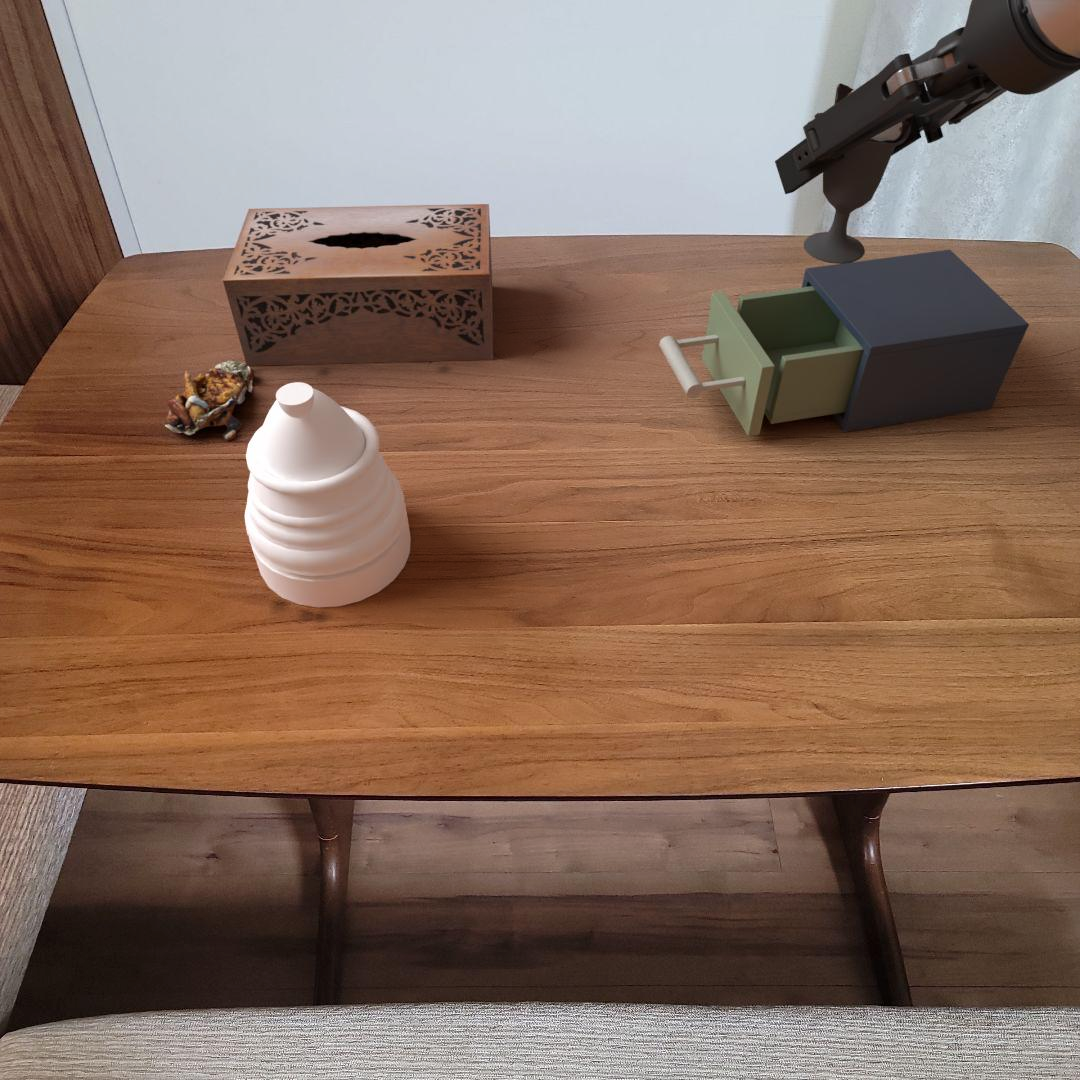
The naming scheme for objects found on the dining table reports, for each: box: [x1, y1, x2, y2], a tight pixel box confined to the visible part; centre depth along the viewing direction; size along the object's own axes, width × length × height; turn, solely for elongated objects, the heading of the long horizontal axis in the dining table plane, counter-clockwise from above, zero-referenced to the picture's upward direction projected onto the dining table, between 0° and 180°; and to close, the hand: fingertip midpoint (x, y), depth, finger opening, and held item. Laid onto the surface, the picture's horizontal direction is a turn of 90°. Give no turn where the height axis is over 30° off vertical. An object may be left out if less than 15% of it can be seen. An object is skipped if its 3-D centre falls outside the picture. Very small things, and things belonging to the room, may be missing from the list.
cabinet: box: [801, 249, 1030, 433], centre depth 92 cm, size 16×14×10 cm
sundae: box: [803, 82, 911, 265], centre depth 71 cm, size 7×7×15 cm
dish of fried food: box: [164, 360, 254, 441], centre depth 91 cm, size 7×12×4 cm, turn 0°
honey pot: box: [244, 381, 412, 608], centre depth 72 cm, size 13×13×18 cm
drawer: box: [659, 286, 864, 437], centre depth 89 cm, size 20×13×8 cm, turn 103°
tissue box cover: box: [222, 203, 494, 367], centre depth 98 cm, size 26×14×10 cm, turn 92°
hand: (820, 166), depth 75 cm, fingers closed on sundae, 7 cm apart
